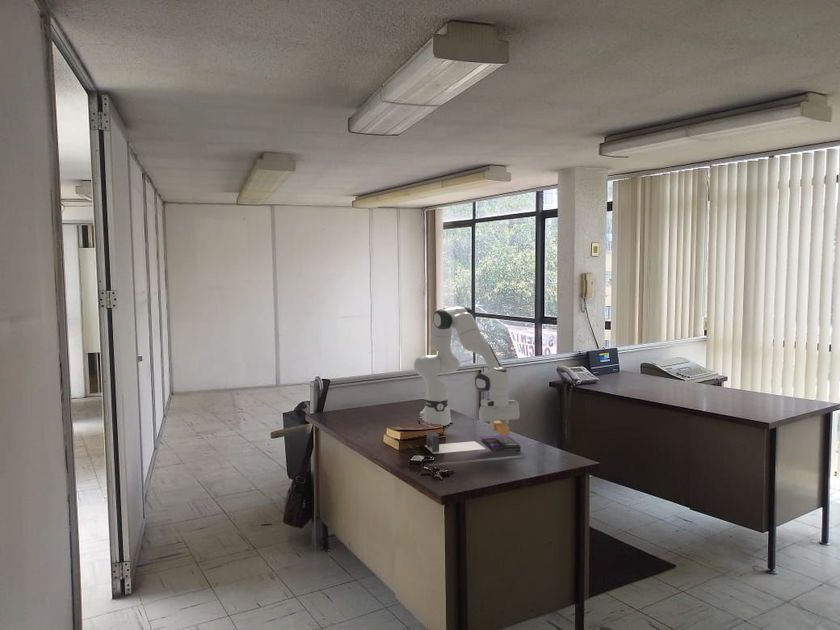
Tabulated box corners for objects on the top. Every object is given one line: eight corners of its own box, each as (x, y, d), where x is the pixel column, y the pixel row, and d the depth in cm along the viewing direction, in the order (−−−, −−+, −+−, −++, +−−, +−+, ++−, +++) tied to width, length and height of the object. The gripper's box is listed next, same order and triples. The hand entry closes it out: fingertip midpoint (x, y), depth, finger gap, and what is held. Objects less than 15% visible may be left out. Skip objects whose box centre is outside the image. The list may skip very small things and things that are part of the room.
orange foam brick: (501, 435, 288) (501, 427, 288) (489, 428, 301) (489, 420, 301) (509, 434, 289) (509, 426, 289) (497, 427, 302) (497, 419, 302)
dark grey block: (426, 446, 292) (426, 431, 292) (432, 445, 293) (432, 430, 292) (432, 451, 283) (432, 436, 283) (439, 451, 284) (439, 435, 283)
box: (480, 443, 304) (492, 454, 285) (480, 436, 304) (492, 446, 285) (507, 441, 307) (520, 452, 288) (507, 434, 307) (520, 444, 288)
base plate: (424, 447, 294) (424, 445, 294) (474, 443, 302) (474, 441, 302) (433, 455, 281) (433, 453, 281) (486, 451, 288) (486, 448, 288)
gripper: (516, 398, 300) (516, 426, 301) (477, 400, 294) (477, 429, 295) (522, 400, 294) (521, 429, 295) (482, 403, 288) (482, 432, 289)
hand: (499, 429), depth 295 cm, fingers closed on orange foam brick, 4 cm apart
